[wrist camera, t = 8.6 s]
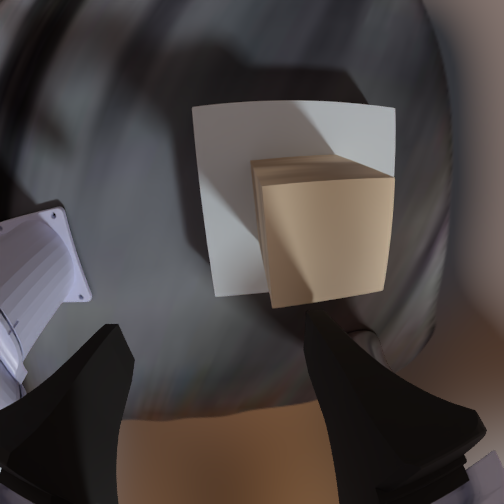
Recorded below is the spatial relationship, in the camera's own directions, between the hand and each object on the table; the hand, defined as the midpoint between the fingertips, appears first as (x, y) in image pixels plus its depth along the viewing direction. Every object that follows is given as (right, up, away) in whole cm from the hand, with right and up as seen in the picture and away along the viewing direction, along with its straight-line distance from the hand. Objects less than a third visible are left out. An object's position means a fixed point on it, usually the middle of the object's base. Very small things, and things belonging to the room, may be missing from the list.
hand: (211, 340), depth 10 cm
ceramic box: (+4, +7, +8) cm, 12 cm away
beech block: (+4, +6, +5) cm, 9 cm away
